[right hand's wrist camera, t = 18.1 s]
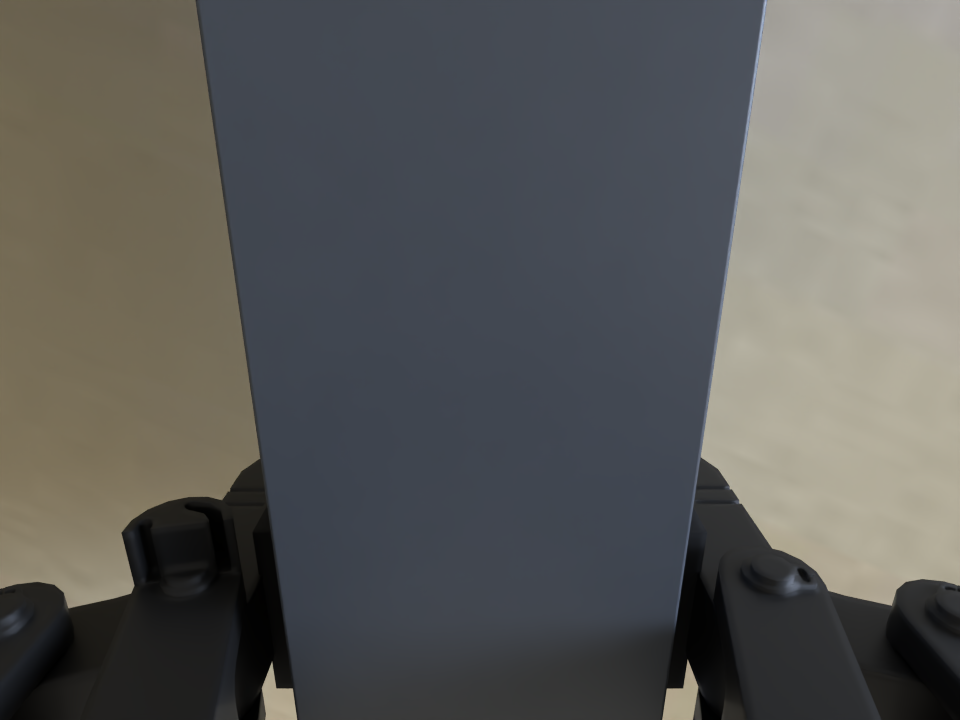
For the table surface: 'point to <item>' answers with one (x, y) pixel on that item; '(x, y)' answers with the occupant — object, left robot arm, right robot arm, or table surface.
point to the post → (480, 333)
